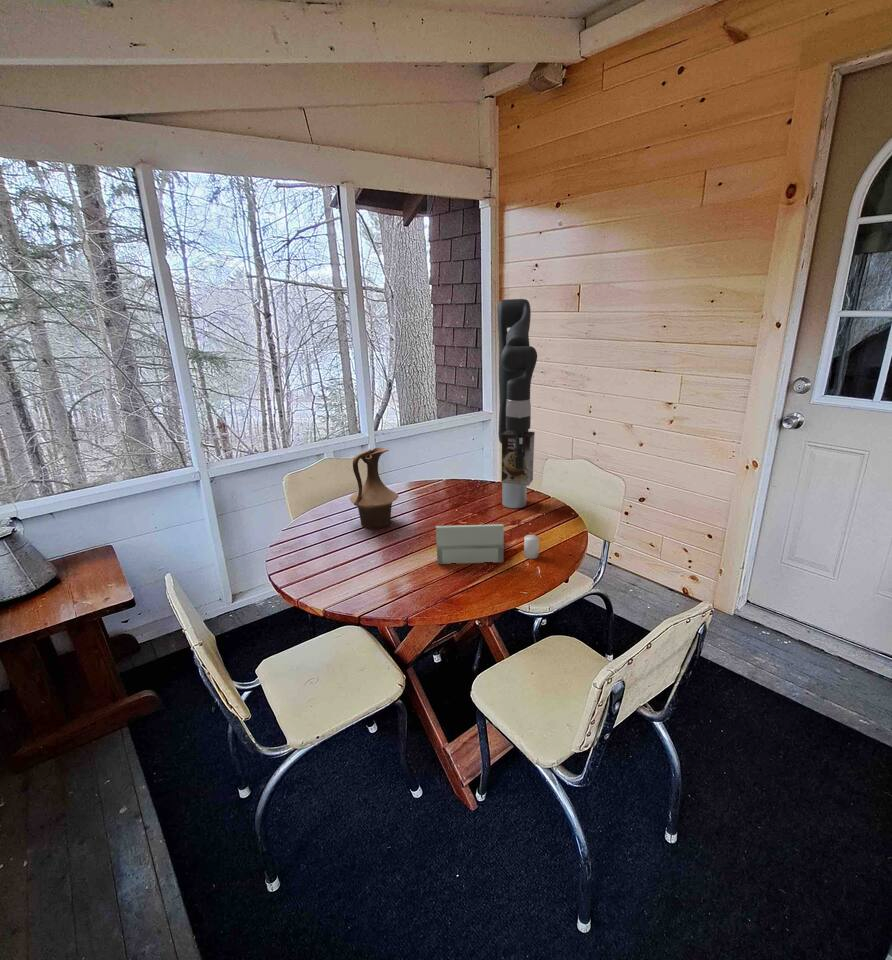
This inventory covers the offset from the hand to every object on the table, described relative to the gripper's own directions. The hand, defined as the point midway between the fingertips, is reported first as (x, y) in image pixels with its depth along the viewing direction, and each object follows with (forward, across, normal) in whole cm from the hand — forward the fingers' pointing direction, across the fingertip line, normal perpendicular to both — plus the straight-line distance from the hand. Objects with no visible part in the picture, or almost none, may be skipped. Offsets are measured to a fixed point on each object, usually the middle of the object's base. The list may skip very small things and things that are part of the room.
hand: (517, 464), depth 162 cm
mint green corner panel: (+26, +9, -16) cm, 32 cm away
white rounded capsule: (+26, +12, +3) cm, 29 cm away
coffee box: (+6, 0, 0) cm, 6 cm away
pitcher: (+26, -16, -49) cm, 58 cm away
